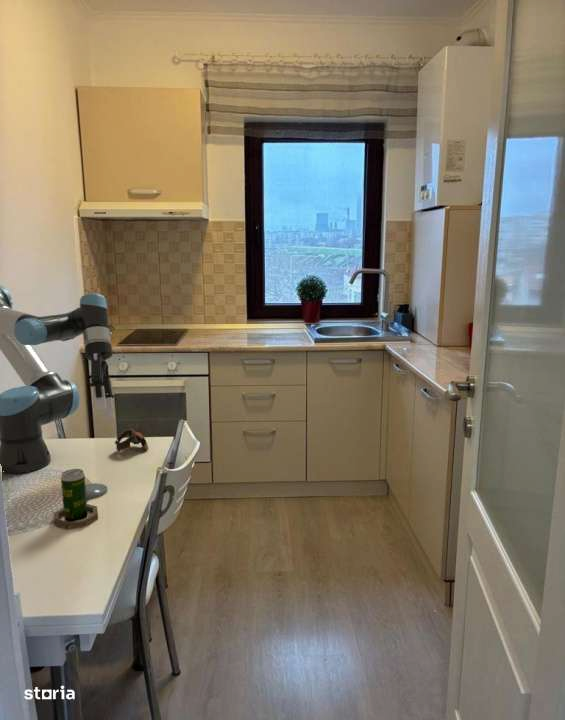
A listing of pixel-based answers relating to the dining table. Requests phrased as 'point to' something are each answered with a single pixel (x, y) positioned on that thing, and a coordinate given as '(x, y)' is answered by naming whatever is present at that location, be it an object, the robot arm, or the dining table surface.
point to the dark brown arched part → (131, 439)
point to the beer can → (74, 495)
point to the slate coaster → (95, 490)
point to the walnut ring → (77, 523)
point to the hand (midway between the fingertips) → (105, 414)
